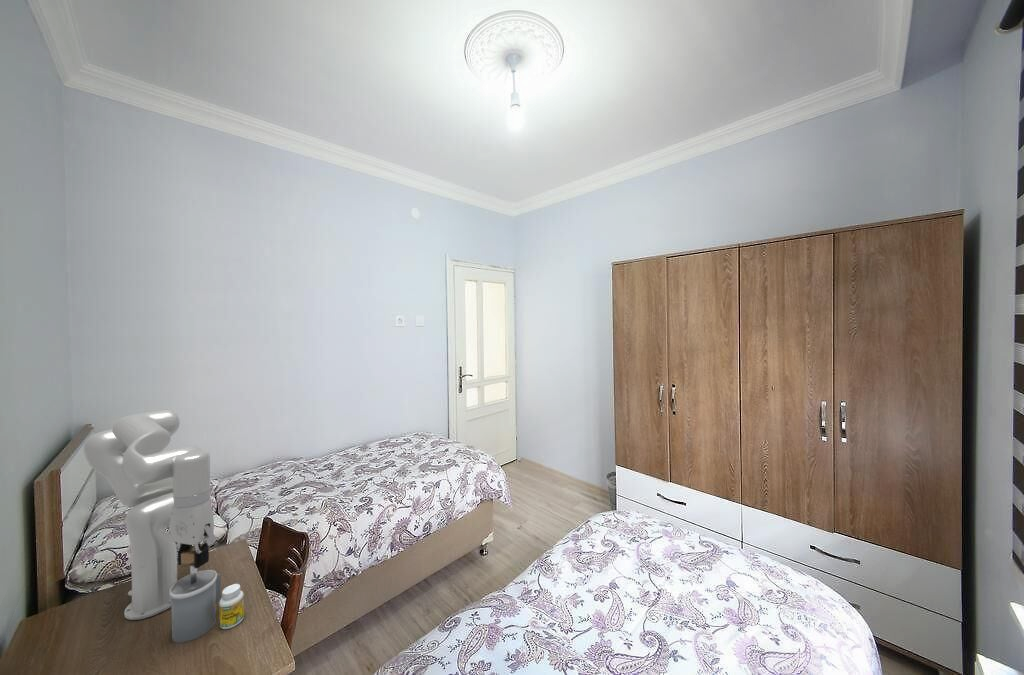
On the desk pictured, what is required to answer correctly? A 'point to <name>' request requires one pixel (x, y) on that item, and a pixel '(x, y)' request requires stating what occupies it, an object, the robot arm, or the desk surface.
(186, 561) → the plunger
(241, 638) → the desk surface
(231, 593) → the supplement bottle
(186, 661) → the desk surface
